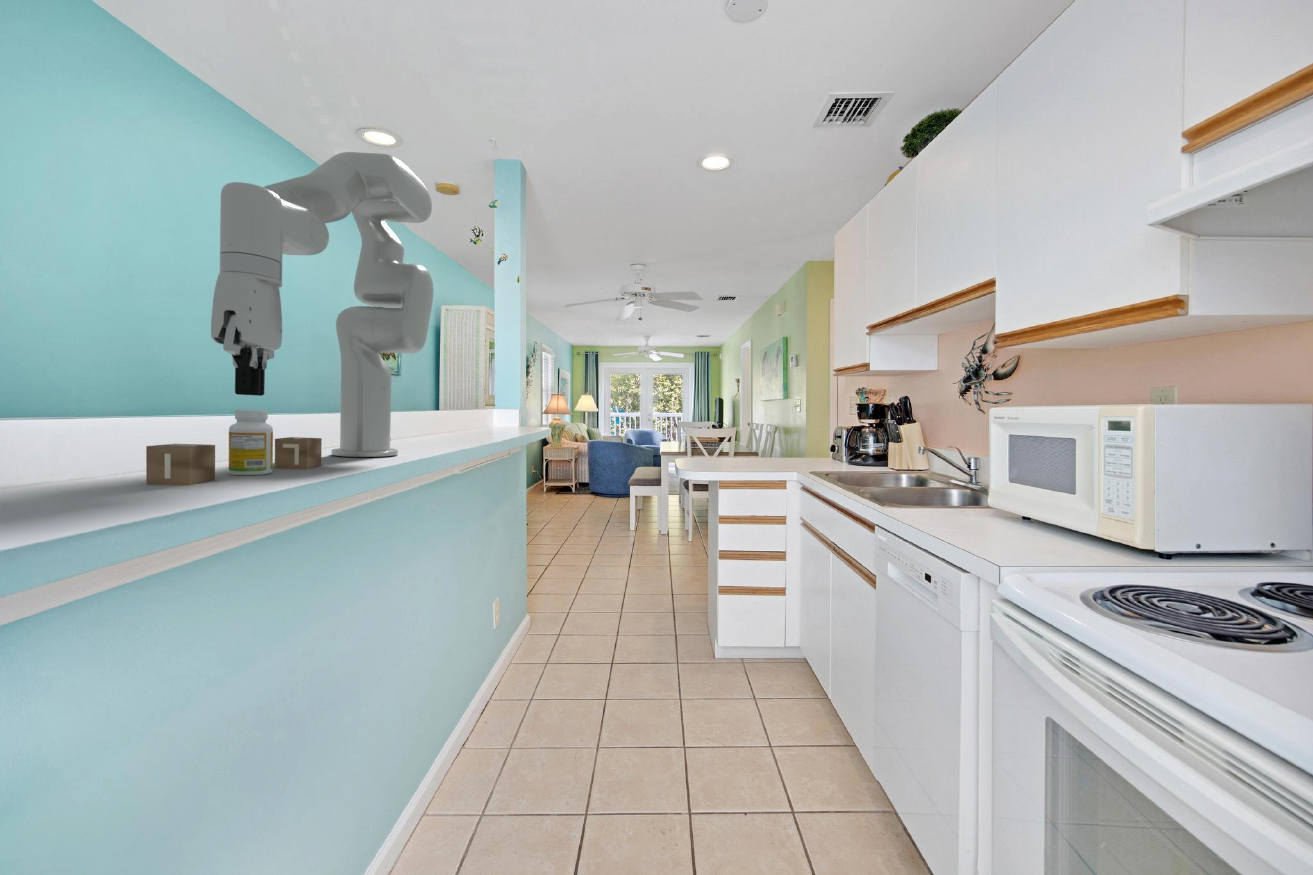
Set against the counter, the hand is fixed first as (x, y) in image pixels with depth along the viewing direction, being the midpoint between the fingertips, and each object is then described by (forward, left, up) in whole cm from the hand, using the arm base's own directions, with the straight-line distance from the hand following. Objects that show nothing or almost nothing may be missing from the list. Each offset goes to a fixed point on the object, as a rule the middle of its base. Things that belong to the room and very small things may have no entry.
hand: (249, 394), depth 82 cm
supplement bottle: (0, 0, -12) cm, 12 cm away
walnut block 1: (+10, -3, -12) cm, 16 cm away
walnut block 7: (-10, +2, -12) cm, 16 cm away
